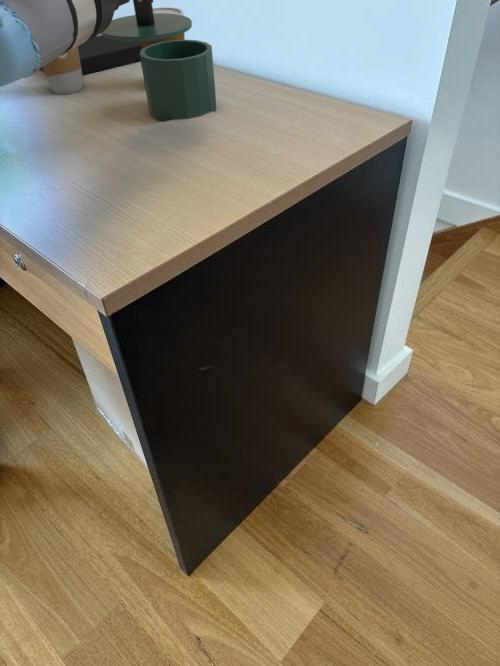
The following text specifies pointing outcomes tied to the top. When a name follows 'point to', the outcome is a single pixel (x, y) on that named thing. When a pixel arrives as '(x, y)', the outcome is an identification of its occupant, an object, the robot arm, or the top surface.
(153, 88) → the pot
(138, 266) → the top surface
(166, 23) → the lid
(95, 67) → the external hard drive
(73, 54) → the coffee cup
